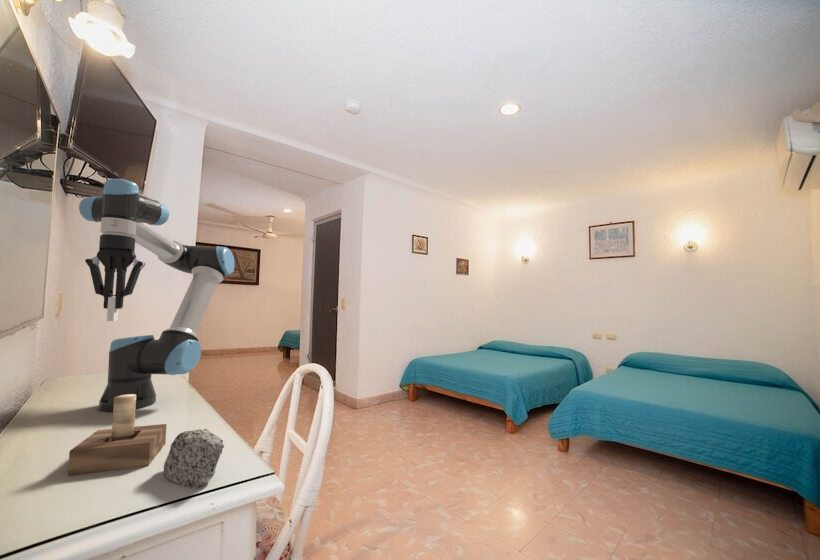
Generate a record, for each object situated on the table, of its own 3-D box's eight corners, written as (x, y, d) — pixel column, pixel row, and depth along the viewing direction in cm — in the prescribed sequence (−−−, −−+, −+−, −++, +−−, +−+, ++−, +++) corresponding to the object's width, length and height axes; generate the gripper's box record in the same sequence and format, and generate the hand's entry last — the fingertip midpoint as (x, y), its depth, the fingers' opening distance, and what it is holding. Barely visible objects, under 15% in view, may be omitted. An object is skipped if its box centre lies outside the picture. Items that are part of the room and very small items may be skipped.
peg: (114, 455, 81) (118, 394, 81) (135, 453, 82) (139, 393, 83) (106, 463, 77) (110, 399, 78) (128, 460, 78) (132, 398, 79)
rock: (228, 483, 69) (229, 430, 71) (180, 498, 63) (183, 440, 65) (203, 469, 80) (204, 424, 82) (159, 481, 74) (162, 432, 76)
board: (96, 451, 82) (97, 430, 83) (165, 443, 87) (166, 423, 88) (67, 475, 71) (69, 451, 72) (148, 465, 76) (150, 442, 77)
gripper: (81, 231, 90) (74, 321, 88) (141, 235, 94) (135, 321, 93) (95, 235, 97) (89, 319, 95) (151, 239, 101) (145, 319, 100)
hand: (112, 320), depth 94 cm, fingers closed
